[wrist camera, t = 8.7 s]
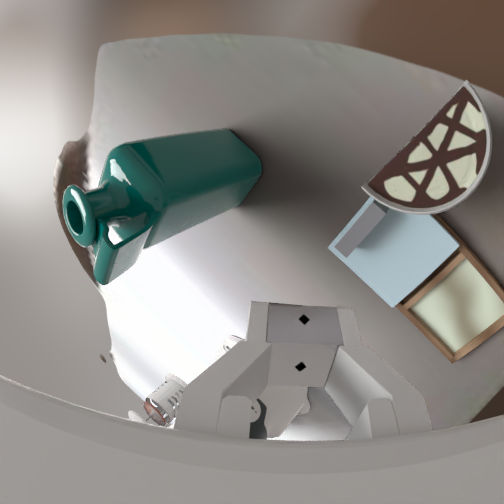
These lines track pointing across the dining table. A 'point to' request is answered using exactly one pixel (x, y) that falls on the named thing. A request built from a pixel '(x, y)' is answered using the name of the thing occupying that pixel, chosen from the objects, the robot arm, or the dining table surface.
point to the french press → (162, 401)
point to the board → (456, 303)
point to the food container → (438, 160)
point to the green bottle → (158, 193)
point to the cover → (392, 249)
